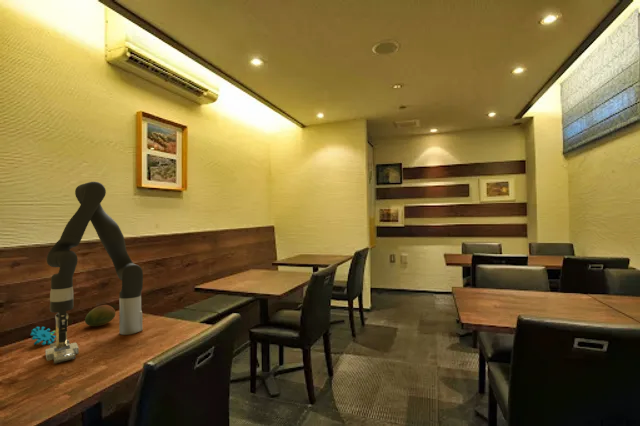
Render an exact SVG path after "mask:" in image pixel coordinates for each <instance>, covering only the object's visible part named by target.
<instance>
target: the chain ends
mask: <svg viewBox="0 0 640 426" xmlns="http://www.w3.org/2000/svg"><path fill="white" fill-rule="evenodd" d="M79 349H80V348H79V345H78V343H77V342H71V343H70V339H67V346H65V347H62V348H56V342H51V344H49V348H45V360H46V362H48V361H52V360H53V364H55V365H56V364H59V363H63V362H67V361H72V360H74V359H76V355H77V354H79Z"/></svg>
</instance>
